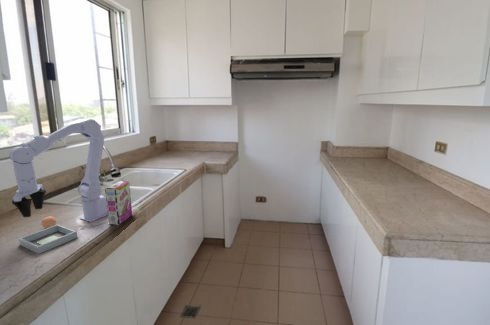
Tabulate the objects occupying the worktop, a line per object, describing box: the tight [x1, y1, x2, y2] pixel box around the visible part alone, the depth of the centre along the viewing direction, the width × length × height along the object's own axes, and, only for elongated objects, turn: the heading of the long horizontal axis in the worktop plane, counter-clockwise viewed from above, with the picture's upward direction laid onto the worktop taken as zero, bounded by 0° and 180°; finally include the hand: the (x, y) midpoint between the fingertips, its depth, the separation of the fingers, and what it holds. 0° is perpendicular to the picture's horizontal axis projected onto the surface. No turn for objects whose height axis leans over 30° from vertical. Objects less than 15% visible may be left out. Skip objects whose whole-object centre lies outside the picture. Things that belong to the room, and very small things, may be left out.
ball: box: [41, 215, 57, 229], centre depth 111 cm, size 5×5×5 cm
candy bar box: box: [104, 180, 133, 226], centre depth 117 cm, size 11×5×16 cm, turn 174°
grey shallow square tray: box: [18, 224, 78, 255], centre depth 100 cm, size 13×13×2 cm
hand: (33, 212), depth 103 cm, fingers open, 7 cm apart
